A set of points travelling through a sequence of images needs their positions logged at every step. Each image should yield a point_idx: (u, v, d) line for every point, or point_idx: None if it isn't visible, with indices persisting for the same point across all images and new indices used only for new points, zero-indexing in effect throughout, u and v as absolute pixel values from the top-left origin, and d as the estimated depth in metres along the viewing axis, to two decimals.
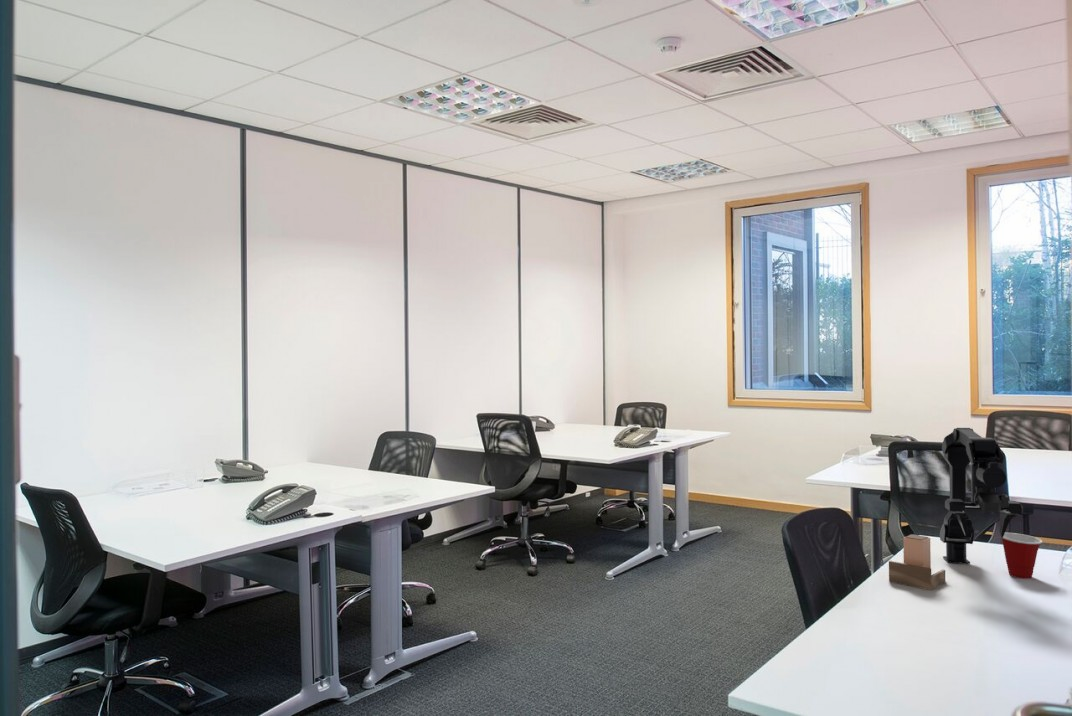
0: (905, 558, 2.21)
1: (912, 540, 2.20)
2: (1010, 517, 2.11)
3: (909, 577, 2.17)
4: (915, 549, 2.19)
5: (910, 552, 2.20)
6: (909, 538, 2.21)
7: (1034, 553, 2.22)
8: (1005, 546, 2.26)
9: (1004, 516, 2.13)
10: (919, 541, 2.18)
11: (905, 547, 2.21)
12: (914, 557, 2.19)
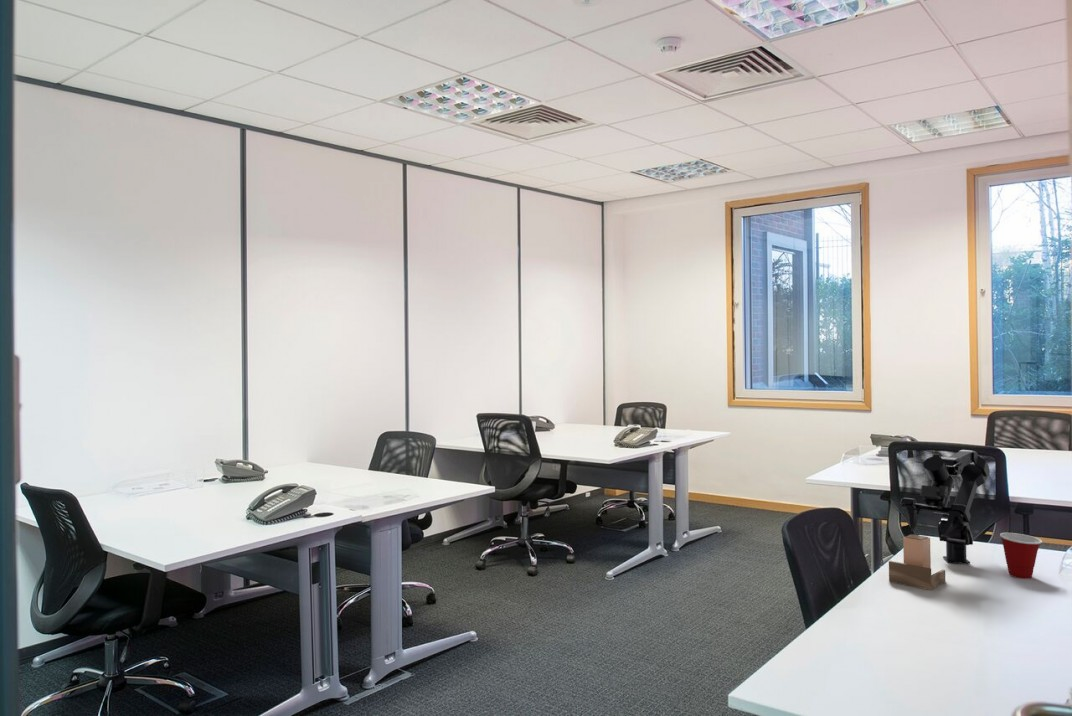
0: (905, 558, 2.21)
1: (912, 540, 2.20)
2: (952, 514, 2.23)
3: (909, 577, 2.17)
4: (915, 549, 2.19)
5: (910, 552, 2.20)
6: (909, 538, 2.21)
7: (1034, 553, 2.22)
8: (1005, 546, 2.26)
9: None
10: (919, 541, 2.18)
11: (905, 547, 2.21)
12: (914, 557, 2.19)
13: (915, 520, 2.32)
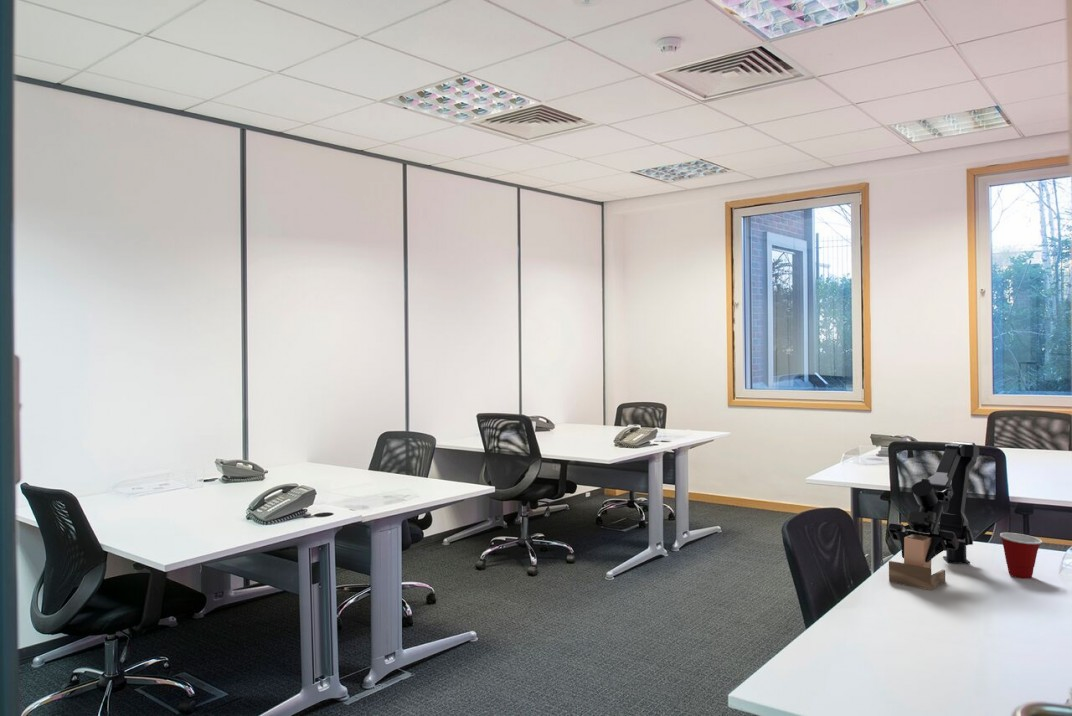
0: (905, 558, 2.21)
1: (913, 540, 2.19)
2: (935, 540, 2.19)
3: (909, 577, 2.17)
4: (916, 549, 2.19)
5: (911, 552, 2.20)
6: (910, 538, 2.20)
7: (1034, 553, 2.22)
8: (1005, 546, 2.26)
9: None
10: (920, 541, 2.18)
11: (906, 547, 2.21)
12: (914, 557, 2.19)
13: None
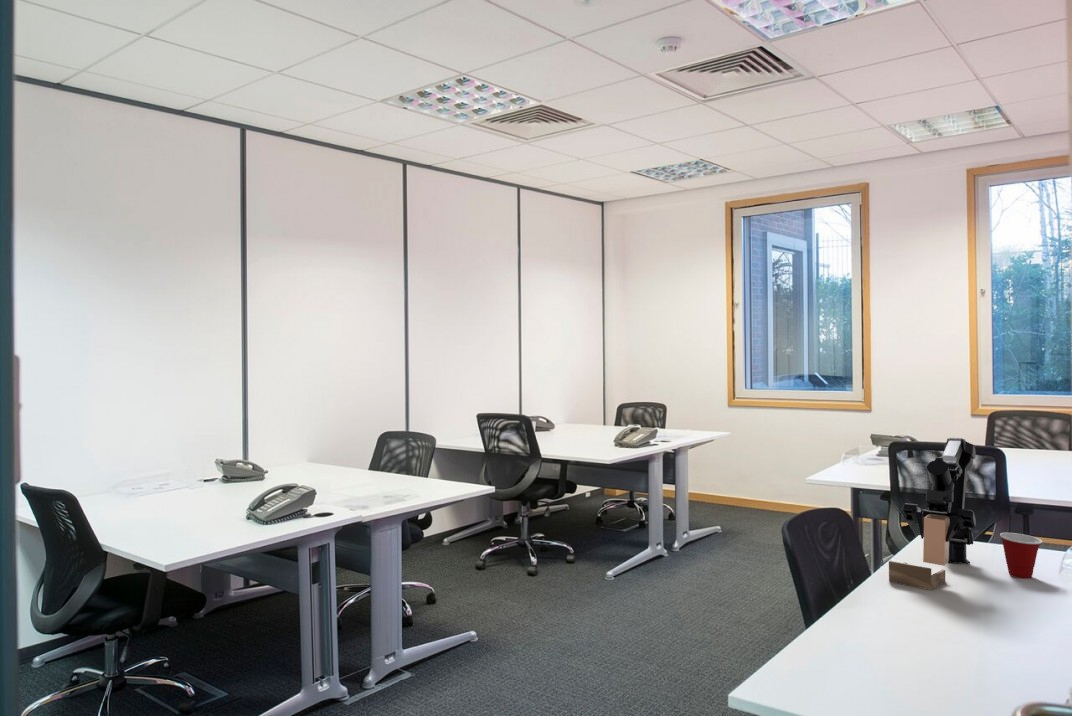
0: (925, 538, 2.17)
1: (933, 520, 2.16)
2: (954, 519, 2.16)
3: (909, 577, 2.17)
4: (936, 529, 2.15)
5: (931, 532, 2.16)
6: (930, 518, 2.16)
7: (1034, 553, 2.22)
8: (1005, 546, 2.26)
9: None
10: (941, 521, 2.14)
11: (926, 527, 2.17)
12: (935, 537, 2.15)
13: (923, 527, 2.22)
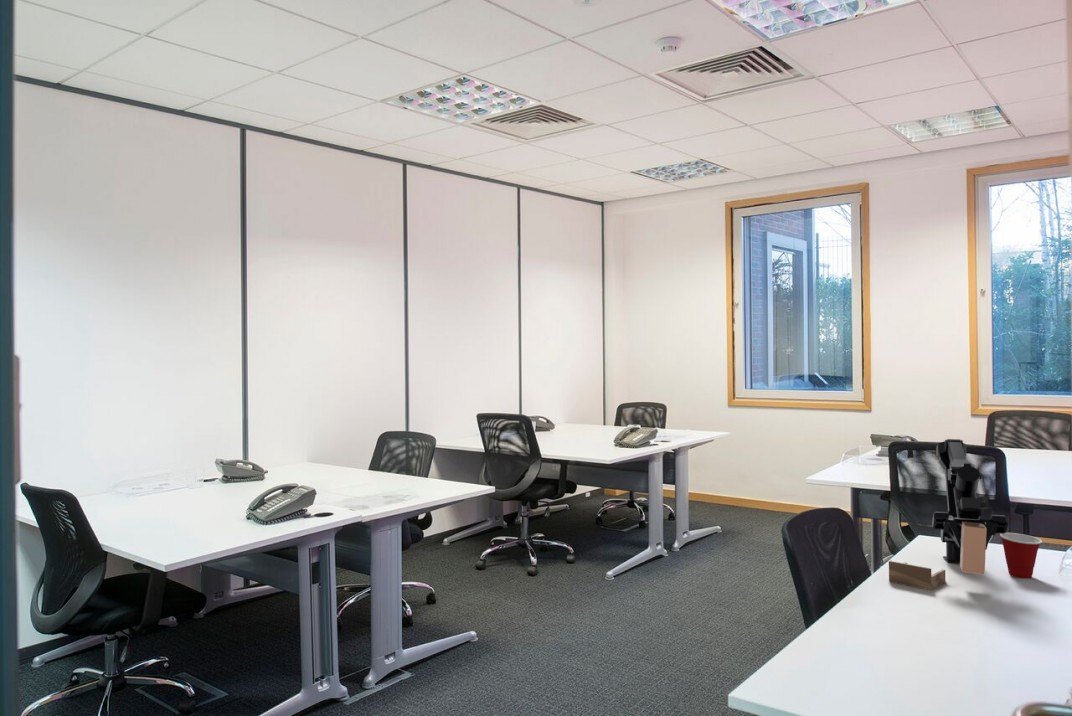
0: (965, 547, 2.12)
1: (974, 528, 2.11)
2: (990, 526, 2.13)
3: (909, 577, 2.17)
4: (977, 537, 2.10)
5: (971, 541, 2.11)
6: (970, 526, 2.11)
7: (1034, 553, 2.22)
8: (1005, 546, 2.26)
9: None
10: (982, 529, 2.10)
11: (965, 536, 2.12)
12: (975, 546, 2.11)
13: None
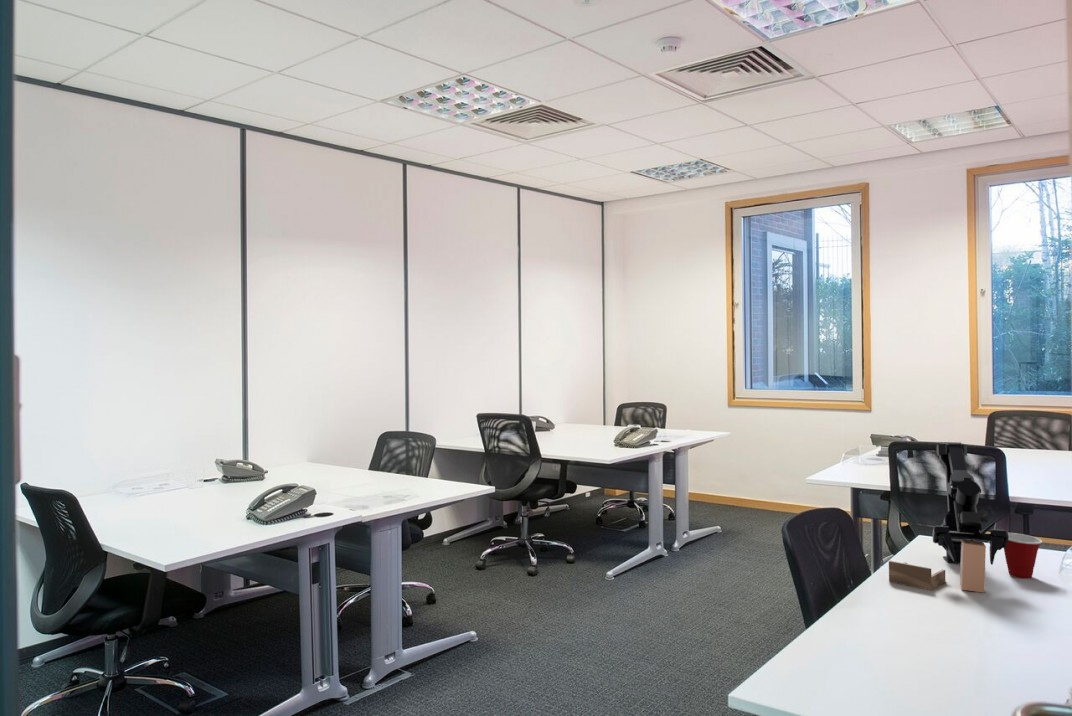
0: (964, 565, 2.12)
1: (973, 546, 2.11)
2: (996, 540, 2.12)
3: (909, 577, 2.17)
4: (976, 555, 2.11)
5: (970, 558, 2.11)
6: (969, 544, 2.12)
7: (1034, 553, 2.22)
8: None
9: (991, 542, 2.13)
10: (981, 547, 2.10)
11: (965, 553, 2.12)
12: (975, 563, 2.11)
13: None
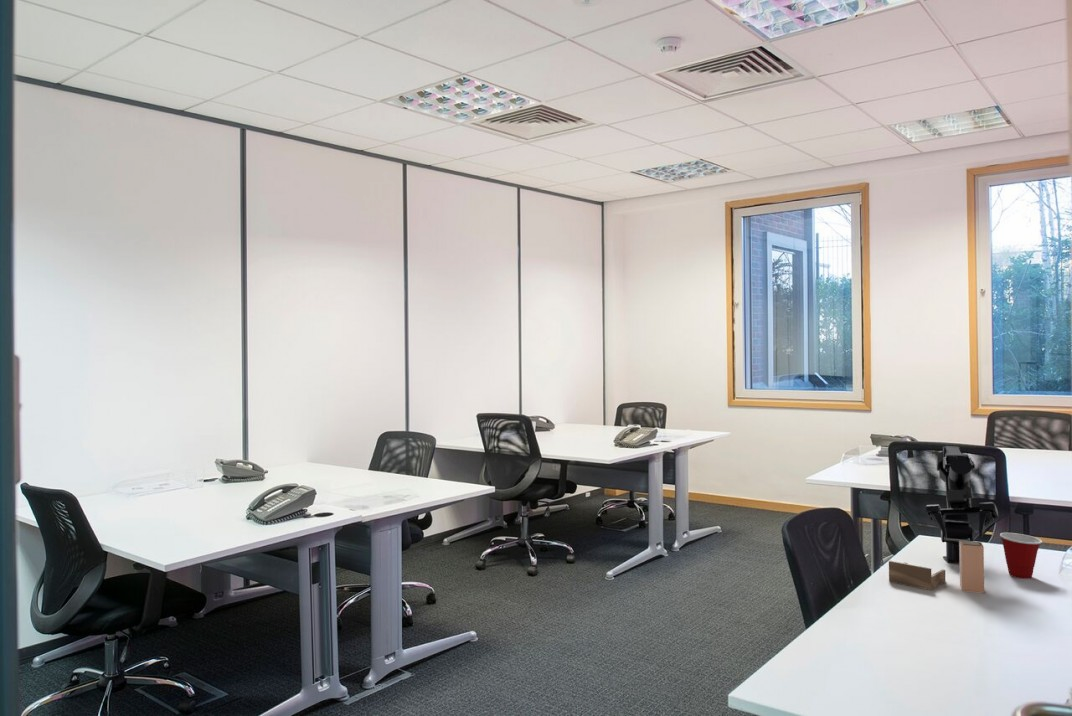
0: (963, 566, 2.12)
1: (971, 547, 2.11)
2: (983, 514, 2.20)
3: (909, 577, 2.17)
4: (975, 556, 2.11)
5: (969, 559, 2.11)
6: (967, 545, 2.12)
7: (1034, 553, 2.22)
8: (1005, 546, 2.26)
9: None
10: (979, 547, 2.10)
11: (963, 555, 2.12)
12: (974, 564, 2.11)
13: (944, 526, 2.27)
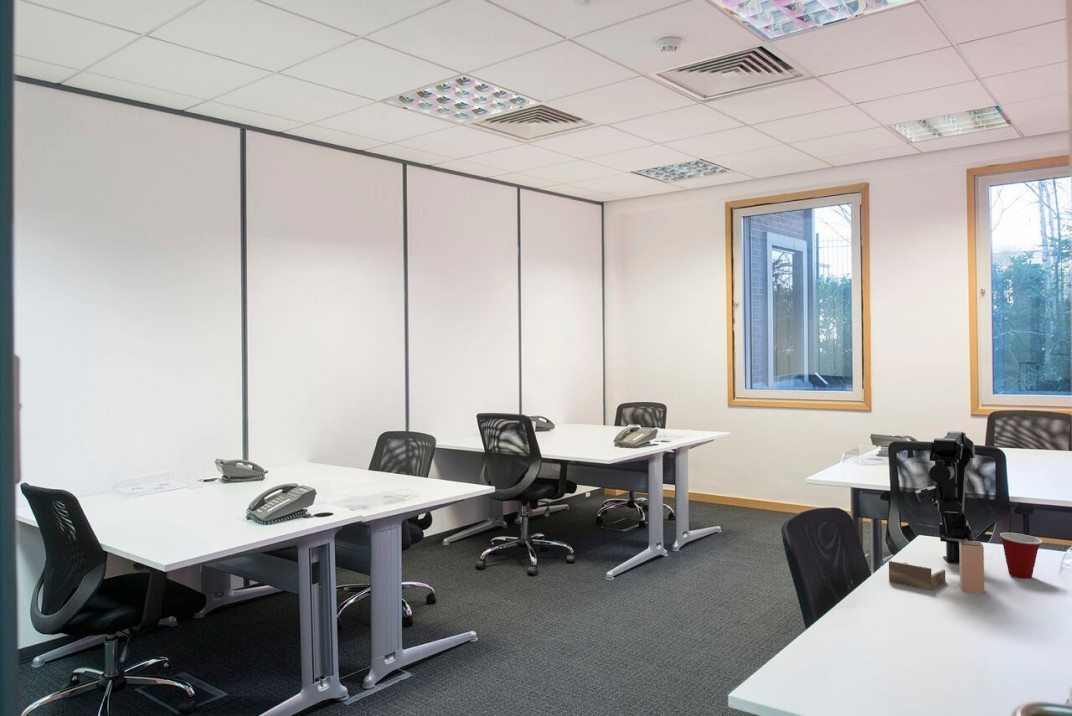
0: (963, 566, 2.12)
1: (971, 547, 2.11)
2: (940, 513, 2.26)
3: (909, 577, 2.17)
4: (975, 556, 2.11)
5: (969, 559, 2.11)
6: (967, 545, 2.12)
7: (1034, 553, 2.22)
8: (1005, 546, 2.26)
9: None
10: (979, 547, 2.10)
11: (963, 555, 2.12)
12: (974, 564, 2.11)
13: None
